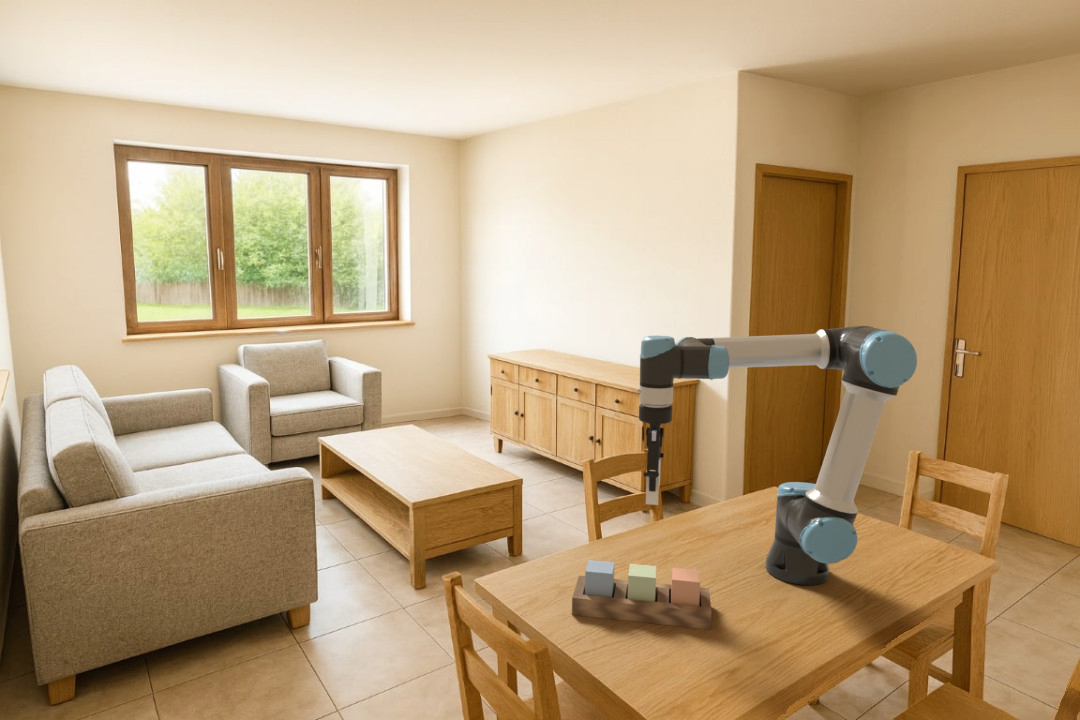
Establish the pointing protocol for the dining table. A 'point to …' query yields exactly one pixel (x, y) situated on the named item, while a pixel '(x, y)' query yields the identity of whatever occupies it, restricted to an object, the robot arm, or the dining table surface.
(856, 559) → the dining table surface
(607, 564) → the pale blue-grey cube
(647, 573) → the pastel lime cube
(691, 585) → the salmon pink cube
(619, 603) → the wooden cube holder tray
